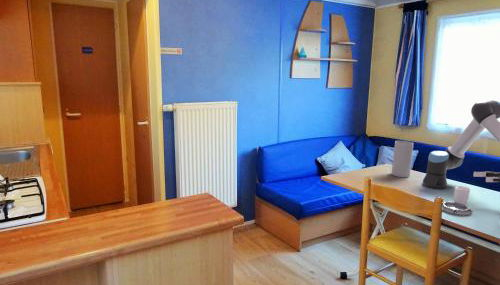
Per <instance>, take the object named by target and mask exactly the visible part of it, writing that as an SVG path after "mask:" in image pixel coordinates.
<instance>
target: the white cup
mask: <svg viewBox="0 0 500 285" xmlns="http://www.w3.org/2000/svg"><path fill="white" fill-rule="evenodd" d="M470 192H471V188H470V187H467V186H462V185H455V186H454V191H453V202H457V203H461V204H464V205H466V206H468V205H467V204H468V200H469V196H470Z"/></svg>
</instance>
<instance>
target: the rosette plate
mask: <svg viewBox="0 0 500 285" xmlns="http://www.w3.org/2000/svg"><path fill="white" fill-rule="evenodd" d="M443 202H444V205H443V211H442V212H443V213H446V214H449V215H454V216H458V217H469V216H471V215H472V212H474V210H472V209H471V208H470V207H469V206H468V205H464V204H461V203H457V202H454V201H449V200H447V201H443Z"/></svg>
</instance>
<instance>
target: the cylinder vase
mask: <svg viewBox="0 0 500 285" xmlns="http://www.w3.org/2000/svg"><path fill="white" fill-rule="evenodd" d="M393 148H394V149H393V157H392V164H391V165H392V166H391V175H392V176H395V177H397V178H398V177H399V178H408V177H410V175H411V167H412V166H411V165H412V158H413V152H414V151H413V150H414V142H412V141H407V140H395V142H394V147H393Z"/></svg>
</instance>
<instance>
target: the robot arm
mask: <svg viewBox="0 0 500 285" xmlns="http://www.w3.org/2000/svg"><path fill="white" fill-rule="evenodd" d="M470 111H471V112H470V113H471V116H472V118H473V119H472V120H471V122H470V123H469V124H468V125H467V126H466V128H465V129H464V130H463V131H462V133H461V134H460V135H459V137H458V138H456V140H455V142H453V144H452V146H448V147H447V148H446V149H445V151H444V150H433V151H431V152H429V155H428V160H427V167H426V174H425V175H424V177H423V179H422V182H421V184H422V186H425V187H427V188H429V189H434V190H436V189H437V190H445V189H447V188H448V181H447V176H446V175H447V170H453V169H456V168H458V167H460V166H461V165H462V164H463V162H464V158H465V153H466V152H467V151H468V149H470V147H471V146H472V144H473V143H474V142H475V141H476V140H477V138H478V137H479V136H480V135H481V134H482V133H483V131H484V129H485V130H487V132H488V133H489V134H491V136H492V137H493V138H494V139H495V140H496V141H497V142H498V143H499V144H500V121H499V120H498V119H500V101H498V100H494V99H493V100H492V99H491V100H480V101H477V102H475V103H474V104H473V105H472V107H471V110H470ZM473 177H477V178H478V177H479V178H483V177H484V178H485V182H486V183H500V172H499V171H498V172H497V171H485V170H484V171H473Z"/></svg>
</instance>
